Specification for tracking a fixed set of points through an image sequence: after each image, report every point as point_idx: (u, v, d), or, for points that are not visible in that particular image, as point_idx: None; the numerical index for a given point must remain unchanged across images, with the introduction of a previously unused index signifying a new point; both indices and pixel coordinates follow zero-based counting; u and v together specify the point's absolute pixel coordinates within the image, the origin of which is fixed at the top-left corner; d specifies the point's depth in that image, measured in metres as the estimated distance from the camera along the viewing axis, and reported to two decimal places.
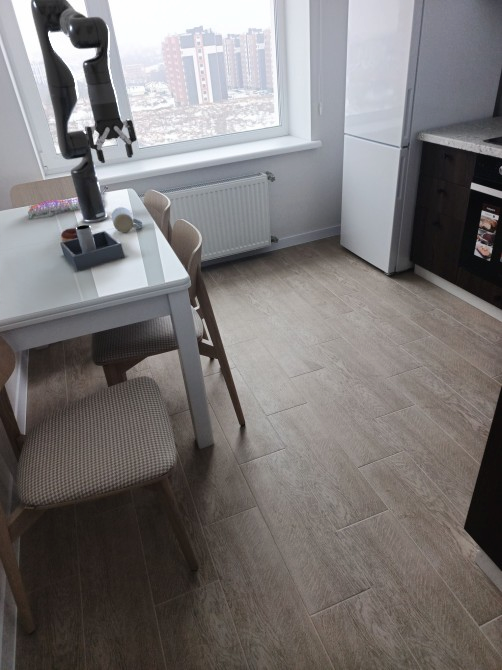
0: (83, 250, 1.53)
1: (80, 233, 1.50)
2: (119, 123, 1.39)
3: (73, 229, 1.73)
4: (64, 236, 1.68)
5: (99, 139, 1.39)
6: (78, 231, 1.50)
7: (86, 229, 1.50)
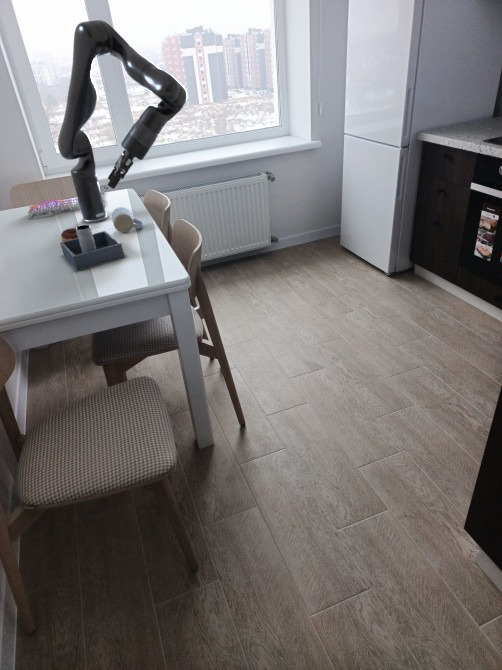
0: (83, 250, 1.53)
1: (80, 233, 1.50)
2: None
3: (73, 229, 1.73)
4: (64, 236, 1.68)
5: (124, 169, 1.42)
6: (78, 231, 1.50)
7: (86, 229, 1.50)
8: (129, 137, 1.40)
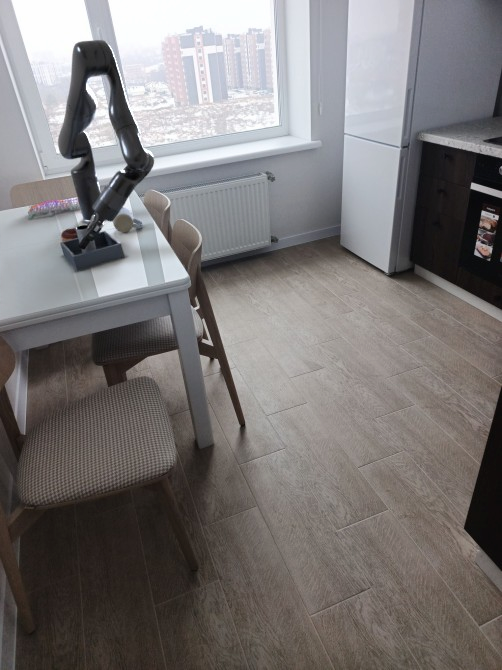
0: (83, 250, 1.53)
1: (80, 233, 1.50)
2: None
3: (73, 229, 1.73)
4: (64, 236, 1.68)
5: None
6: (78, 231, 1.50)
7: (86, 229, 1.50)
8: (99, 201, 1.47)
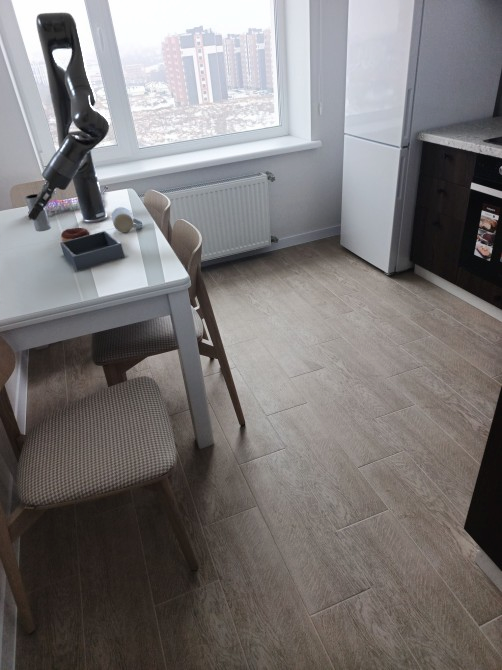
0: (34, 221, 1.44)
1: (29, 203, 1.41)
2: None
3: (73, 229, 1.73)
4: (64, 236, 1.68)
5: None
6: (27, 200, 1.40)
7: (36, 198, 1.41)
8: (49, 168, 1.37)
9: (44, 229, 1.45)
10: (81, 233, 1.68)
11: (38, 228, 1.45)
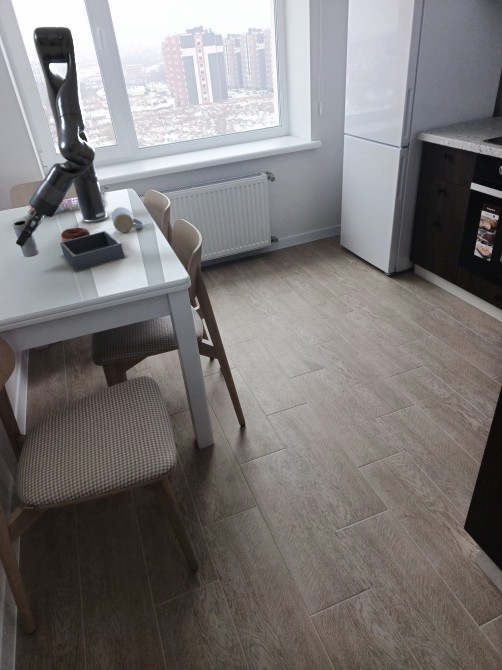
0: (22, 247, 1.46)
1: (17, 230, 1.43)
2: None
3: (73, 229, 1.73)
4: (64, 236, 1.68)
5: None
6: (15, 227, 1.43)
7: (23, 225, 1.43)
8: (36, 196, 1.39)
9: (32, 255, 1.48)
10: (81, 233, 1.68)
11: (26, 254, 1.47)
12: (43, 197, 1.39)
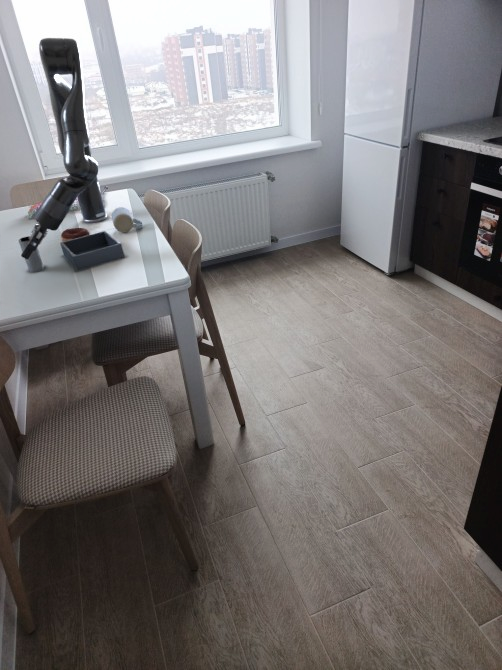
0: (27, 262, 1.49)
1: (23, 245, 1.46)
2: None
3: (73, 229, 1.73)
4: (64, 236, 1.68)
5: None
6: (21, 243, 1.45)
7: None
8: (40, 210, 1.42)
9: (37, 270, 1.50)
10: (81, 233, 1.68)
11: (31, 269, 1.50)
12: (48, 211, 1.41)
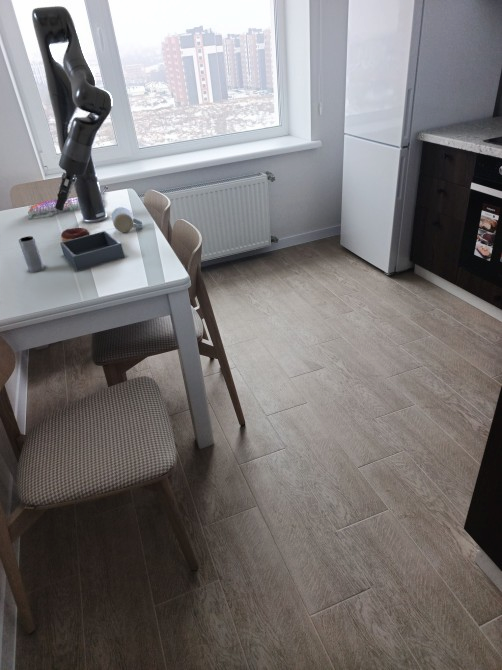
0: (27, 262, 1.49)
1: (23, 245, 1.46)
2: None
3: (73, 229, 1.73)
4: (64, 236, 1.68)
5: None
6: (21, 243, 1.45)
7: (29, 241, 1.46)
8: (63, 156, 1.37)
9: (37, 270, 1.50)
10: (81, 233, 1.68)
11: (31, 269, 1.50)
12: (70, 156, 1.36)
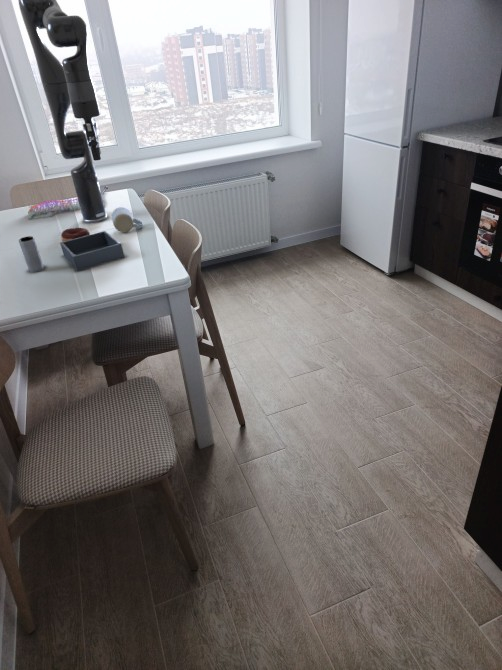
0: (27, 262, 1.49)
1: (23, 245, 1.46)
2: None
3: (73, 229, 1.73)
4: (64, 236, 1.68)
5: None
6: (21, 243, 1.45)
7: (29, 241, 1.46)
8: (73, 105, 1.35)
9: (37, 270, 1.50)
10: (81, 233, 1.68)
11: (31, 269, 1.50)
12: (78, 100, 1.34)
